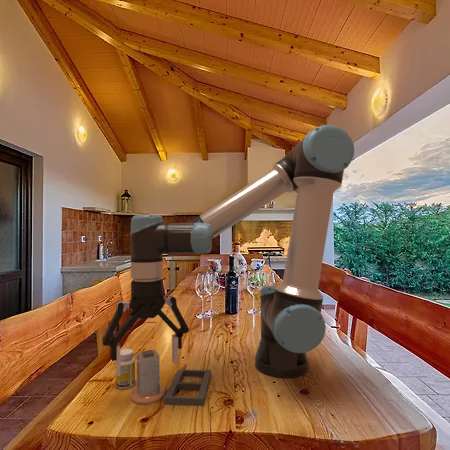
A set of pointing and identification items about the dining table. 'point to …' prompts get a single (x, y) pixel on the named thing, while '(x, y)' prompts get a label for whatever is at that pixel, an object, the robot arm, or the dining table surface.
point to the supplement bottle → (126, 370)
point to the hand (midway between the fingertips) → (147, 367)
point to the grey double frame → (188, 388)
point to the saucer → (146, 400)
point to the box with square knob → (148, 373)
